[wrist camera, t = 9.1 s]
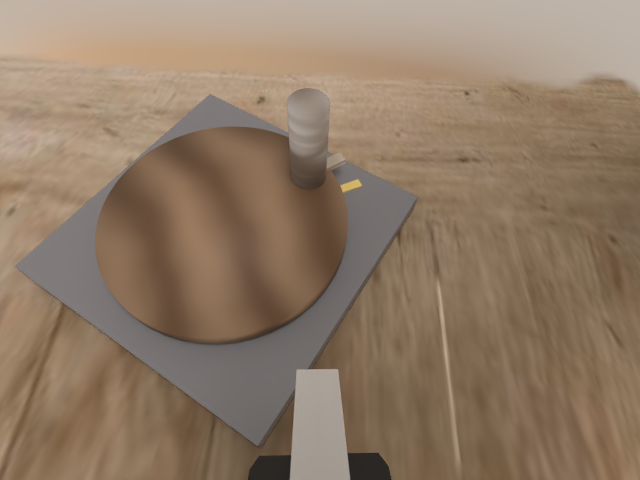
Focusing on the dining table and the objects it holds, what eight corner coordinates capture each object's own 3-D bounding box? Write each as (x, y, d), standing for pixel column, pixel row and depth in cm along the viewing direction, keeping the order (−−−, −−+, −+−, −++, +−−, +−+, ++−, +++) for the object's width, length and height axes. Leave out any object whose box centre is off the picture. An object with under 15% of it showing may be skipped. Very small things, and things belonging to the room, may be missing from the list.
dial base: (213, 108, 46) (209, 92, 44) (413, 209, 40) (418, 195, 38) (28, 277, 36) (12, 265, 34) (260, 448, 30) (257, 446, 28)
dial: (159, 400, 29) (99, 363, 20) (71, 194, 37) (3, 110, 29) (409, 251, 35) (440, 178, 27) (286, 104, 43) (280, 14, 35)
